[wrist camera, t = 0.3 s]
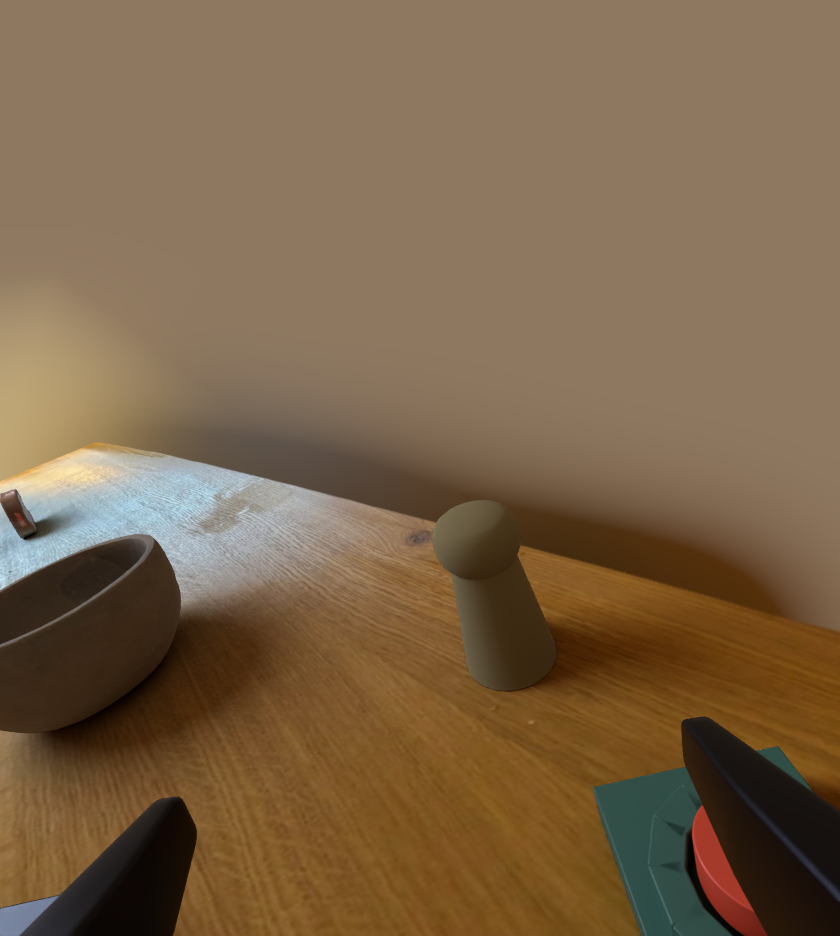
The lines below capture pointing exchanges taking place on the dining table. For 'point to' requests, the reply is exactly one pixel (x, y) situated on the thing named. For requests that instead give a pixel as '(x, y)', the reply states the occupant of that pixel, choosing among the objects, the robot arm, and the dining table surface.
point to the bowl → (84, 632)
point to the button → (721, 879)
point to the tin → (17, 513)
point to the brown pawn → (494, 596)
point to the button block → (664, 849)
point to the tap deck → (22, 915)
